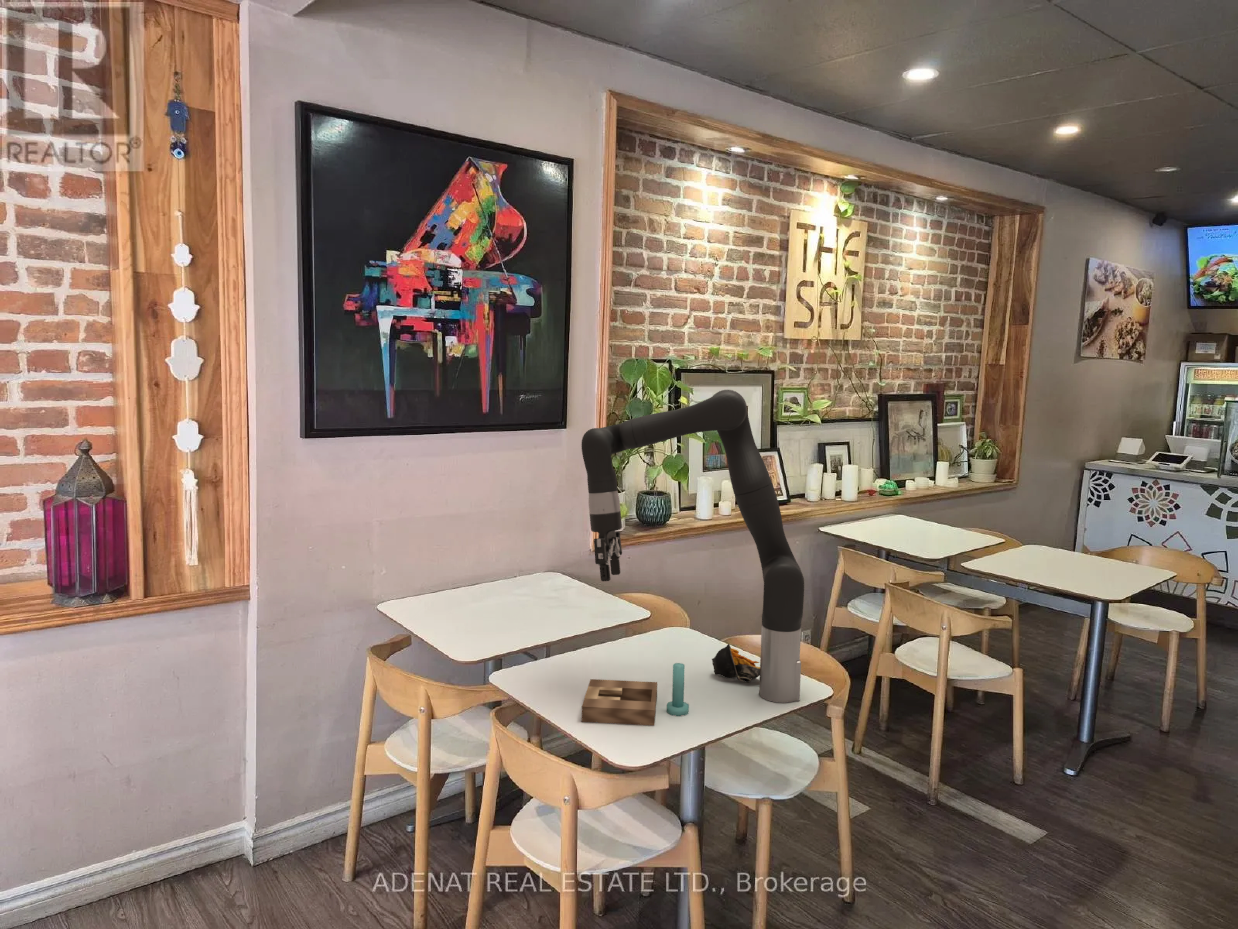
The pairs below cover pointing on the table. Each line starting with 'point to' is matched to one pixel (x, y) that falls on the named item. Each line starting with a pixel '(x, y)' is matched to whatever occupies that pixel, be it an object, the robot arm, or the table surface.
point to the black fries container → (734, 665)
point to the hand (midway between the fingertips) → (611, 577)
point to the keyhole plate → (620, 702)
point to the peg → (678, 692)
